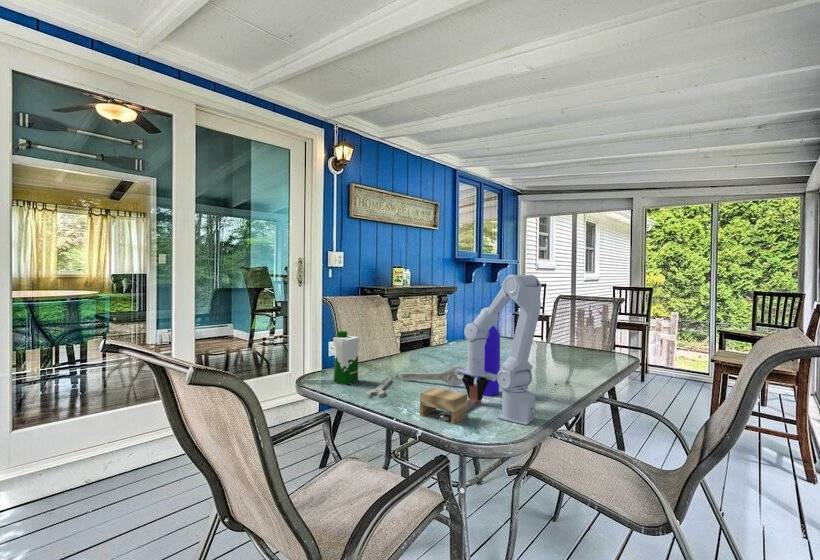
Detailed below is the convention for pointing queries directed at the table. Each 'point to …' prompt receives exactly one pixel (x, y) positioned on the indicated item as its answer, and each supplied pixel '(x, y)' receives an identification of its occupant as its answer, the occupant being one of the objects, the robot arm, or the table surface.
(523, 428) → the table surface
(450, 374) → the wrench
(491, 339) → the bottle
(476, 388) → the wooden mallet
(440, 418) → the token
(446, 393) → the wooden bridge block
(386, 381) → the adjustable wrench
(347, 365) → the milk carton
